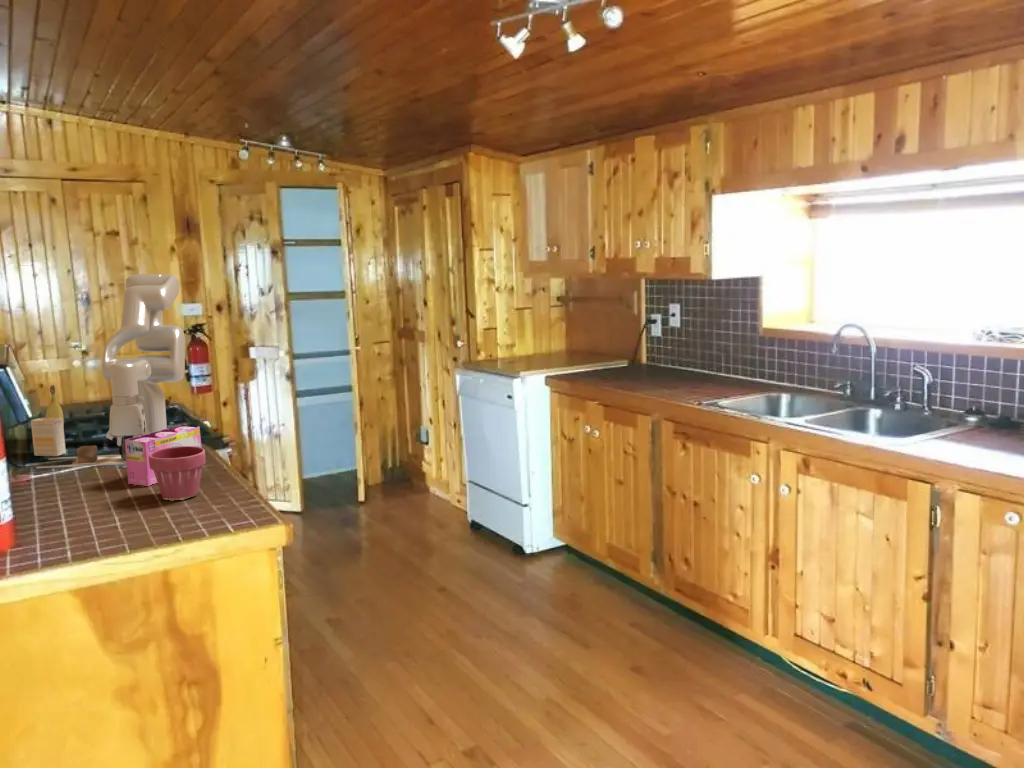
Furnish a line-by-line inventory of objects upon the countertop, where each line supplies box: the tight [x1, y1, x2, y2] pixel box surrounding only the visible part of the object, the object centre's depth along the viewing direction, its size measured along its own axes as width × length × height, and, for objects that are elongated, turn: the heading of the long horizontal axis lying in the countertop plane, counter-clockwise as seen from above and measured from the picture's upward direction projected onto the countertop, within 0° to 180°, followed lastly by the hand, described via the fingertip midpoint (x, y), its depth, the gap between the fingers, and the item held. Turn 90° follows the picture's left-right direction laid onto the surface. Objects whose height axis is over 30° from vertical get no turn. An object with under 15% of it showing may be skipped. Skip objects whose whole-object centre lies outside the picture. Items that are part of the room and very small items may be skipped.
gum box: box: [124, 424, 204, 487], centre depth 239 cm, size 24×8×14 cm, turn 159°
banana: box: [45, 384, 65, 429], centre depth 277 cm, size 23×6×20 cm, turn 23°
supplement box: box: [30, 417, 67, 457], centre depth 260 cm, size 8×5×13 cm, turn 84°
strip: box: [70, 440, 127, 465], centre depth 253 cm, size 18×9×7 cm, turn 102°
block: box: [76, 445, 98, 463], centre depth 252 cm, size 4×4×4 cm
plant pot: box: [149, 446, 207, 499], centre depth 218 cm, size 14×14×13 cm
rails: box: [35, 454, 127, 469], centre depth 252 cm, size 30×12×2 cm, turn 102°
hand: (130, 456), depth 255 cm, fingers closed on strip, 3 cm apart
